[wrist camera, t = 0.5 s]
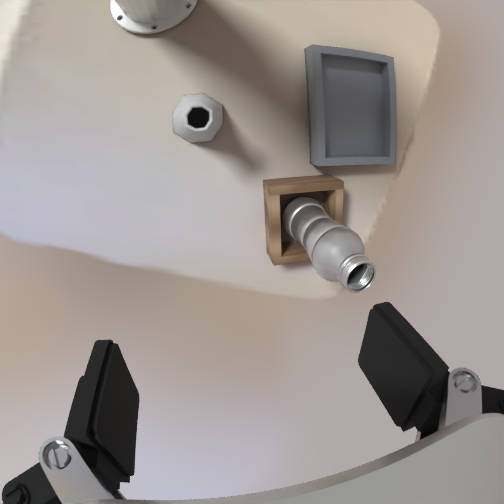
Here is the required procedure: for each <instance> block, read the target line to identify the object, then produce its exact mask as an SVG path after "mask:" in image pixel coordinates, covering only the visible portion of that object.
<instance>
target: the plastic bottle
mask: <svg viewBox="0 0 504 504" xmlns="http://www.w3.org/2000/svg"><path fill="white" fill-rule="evenodd" d="M283 224H284V227H285V230H286V232H287V233H288V234H289V235H290V236H291V237H292V238H293V239H295V240H296V241H298V242H299V243H300V244H301V245H302V246H303V247H304V248H305V250H306V251H307V253H308V255H309V257H310V260H311V262H312V264H313V266H314V268H315V270H316V272H317V273H318V274H319V275H320V276H321V277H322V278H324V279H326V280H328V281H331V282H340V283H341V284H342V285H343V286H345V287H346V288H347V290H349V291H350V292H353V293H359V292H361V291H364V290H365V289H367V288H368V287H369V286H370V285H371V284H372V282H373V280H374V278H375V274H376V269H375V266H374V265H373V263H371V262H370V261H369V259H368V258H367V257H366V256H365V249H364V245H363V242H362V240H361V238H360V237H359V235H358V234H357V233H356V232H354V231H353V230H351V229H349V228H347V227H345V226H343V225H341V224H339V223H338V222H336V221H335V220H333V219H332V218H331V217H330V216H329V215H328V214H327V213H326V212H325V210H324V208H323V207H322V205H321V204H320V203H319V202H318V201H317V200H315V199H312V198H309V197H299V198H296V199H294V200H292V201H291V202H290V203H289V204H288V205H287V207H286V208H285V210H284V213H283Z"/></svg>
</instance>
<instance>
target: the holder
mask: <svg viewBox="0 0 504 504" xmlns="http://www.w3.org/2000/svg"><path fill="white" fill-rule="evenodd" d="M263 188H264V206H265V225H266V245H267V254H268V255H269V257H270V259H271V261H272V263H273V265H280V264H286V263H293V262H299V261H305V260H310V257H309V255H308V253H307V251H306V250H305V248H304V247H303V246H302V245H301V244H300V243H299V242H298V241H296V242H289V243H282V244H281V222H280V195H282V194H292V193H303V192H314V191H324V204H323V208H324V210H325V212H326V213H327V214H328V215H329V216H330V217H331V218H332V219H333V220H335V221H336V222H338V223H339V224H341V225H342V215H343V189H344V181H342V180H340V179H338V178H336V177H334V176H332V175H319V176H304V177H292V178H280V179H269V180H263Z"/></svg>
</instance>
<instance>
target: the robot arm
mask: <svg viewBox="0 0 504 504" xmlns="http://www.w3.org/2000/svg"><path fill="white" fill-rule="evenodd" d="M197 1H198V0H111V2H110V11H111V14H112V17H113V19H114V20H115V21H116V23H117V24H118V25H119V26H120V27H122V28H123V29H125V30H127V31H130V32H132V33H138V34H153V33H158V32H162V31H166V30H168V29H170V28H172V27H174V26H176V25H178V24H179V23H181V22H182V21H183V20H184V19H186V18H187V17H188V16H189V15H190V13H191V12H192V11H193V9H194V8H195V6H196V4H197ZM187 7H190V8H187ZM121 18H123V19H122V20H120V19H121ZM154 27H156V29H153V28H154ZM358 363H359V366H360V368H361V369H362V371H363V373H364V374H365V376H366V377H367V379H368V381H369V382H370V384H371V385H372V387H373V389H374V390H375V392H376V393H377V395H378V397H379V398H380V400H381V402H382V403H383V405H384V406H385V408H386V410H387V411H388V413H389V415H390V416H391V418H392V420H393V421H394V423H395V424H396V426H399V427H401V429H402V430H403V432H404V431H406V430H408V429H410V428H413V427H414V426H415V427H416V429H417V435H416V440H415V443H413V444H411V445H408V446H406V447H404V448H402V449H400V450H398V451H396V452H393V453H391V454H388V455H386V456H384V457H381V458H379V459H376V460H374V461H371V462H369V463H366V464H363V465H361V466H358V467H355V468H352V469H349V470H346V471H344V472H340V473H337V474H334V475H331V476H327V477H324V478H321V479H317V480H313V481H310V482H306V483H302V484H298V485H294V486H289V487H285V488H280V489H275V490H270V491H264V492H259V493H252V494H246V495H238V496H231V497H221V498H210V499H194V500H127V499H126V498H125V497H124V496H123V495H122V493H121V492H120V491H119V490H118V489H120V482H128V483H129V482H130V476H133V475H134V469H135V468H134V467H135V448H136V432H137V419H138V408H139V393H138V390H137V388H136V386H135V384H134V381H133V379H132V377H131V375H130V372H129V370H128V368H127V365H126V363H125V360H124V358H123V356H122V354H121V351H120V348H119V346H118V344H114V343H113V341H112V340H97V341H96V342H95V344H94V347H93V350H92V353H91V356H90V359H89V362H88V365H87V368H86V372H85V375H84V376H82V377H81V378H80V379H79V382H78V385H77V388H76V392H75V395H74V399H73V402H72V406H71V410H70V413H69V417H68V421H67V425H66V429H65V433H64V438H63V437H53V438H50V439H48V440H47V441H45V442H44V443H43V445H42V446H41V448H40V451H39V461H40V462H39V463H37V464H36V465H34V466H33V467H31V468H30V469H28V470H27V471H25V472H24V473H22V474H20V475H19V476H18V477H16V478H14V479H12V480H11V481H9V482H8V483H7V484H6V485H5V486H4V488H3V491H2V500H3V503H2V504H504V390H501V389H496V388H491V387H487V386H482V385H481V382H480V379H479V377H478V375H477V374H476V373H475V372H473V371H472V370H470V369H467V368H457V369H454V370H453V371H452V372H451V373H450V372H449V371H448V369H449V367H448V366H447V365H446V364H445V362H444V361H443V360H442V359H441V358H440V357H439V356H438V354H437V353H436V352H435V351H434V350H433V349H432V348H431V346H430V345H429V344H428V343H427V342H426V341H425V340H424V339H423V338H422V336H420V334H419V333H418V332H417V331H416V330H415V329H414V328H413V327H412V326H411V325H410V323H409V322H408V321H407V320H406V319H405V318H404V317H403V316H402V315H401V314H400V313H399V312H398V311H397V310H396V309H395V308H394V306H393V305H392V304H391V303H389V302H384V303H380V304H376V305H374V306H373V309H371V310H370V312H369V317H368V321H367V326H366V330H365V334H364V338H363V342H362V346H361V350H360V354H359V358H358Z"/></svg>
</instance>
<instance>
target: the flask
mask: <svg viewBox="0 0 504 504" xmlns="http://www.w3.org/2000/svg"><path fill="white" fill-rule="evenodd" d="M172 116H173V132H174V133H175V134H177V135H178V136H180V137H182V138H184V139H185V140H187V141H189V142H190V143H194V142H205V141H212V139H213V138H214V136H215V135H216V134H217V132H218V131H219V129H220V128H221V126H222V125H223V112H222V104H221V103H219V102H218V101H216V100H214V99H213V98H211V97H210V96H208V95H206V94H195V95H184V96H183V98H182V99H181V101H180V102H179V103H178V105H177V106H176V108H175V109H174V111H173V112H172Z"/></svg>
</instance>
